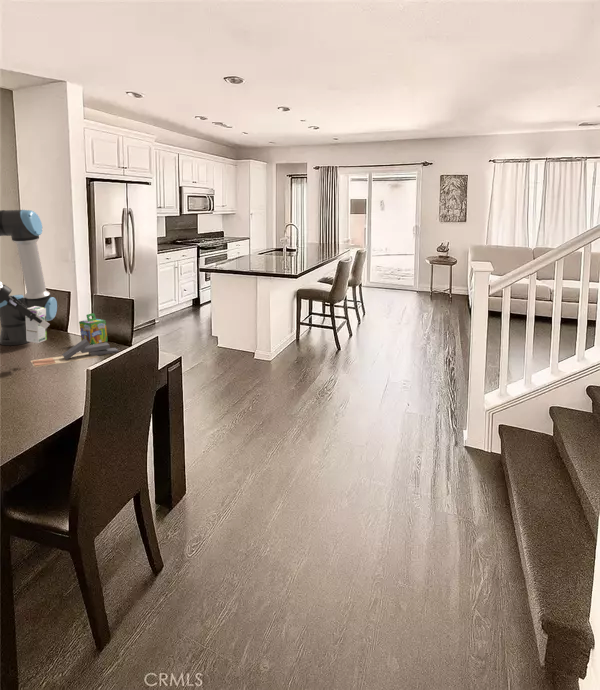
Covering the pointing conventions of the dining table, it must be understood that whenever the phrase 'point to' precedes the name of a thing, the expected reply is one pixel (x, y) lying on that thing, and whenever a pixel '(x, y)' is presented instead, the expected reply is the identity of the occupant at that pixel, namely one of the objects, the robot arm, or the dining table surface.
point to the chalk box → (93, 330)
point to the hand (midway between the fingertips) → (46, 324)
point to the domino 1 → (75, 349)
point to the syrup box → (36, 326)
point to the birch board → (61, 359)
